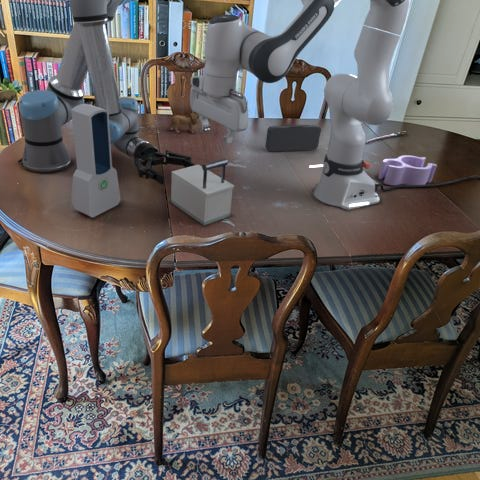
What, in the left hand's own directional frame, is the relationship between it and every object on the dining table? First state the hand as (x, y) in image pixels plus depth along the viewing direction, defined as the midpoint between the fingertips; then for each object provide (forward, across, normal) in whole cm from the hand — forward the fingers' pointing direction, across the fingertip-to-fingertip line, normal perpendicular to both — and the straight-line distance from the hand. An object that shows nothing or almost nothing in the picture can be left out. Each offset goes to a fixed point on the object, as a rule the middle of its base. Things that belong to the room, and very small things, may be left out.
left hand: (180, 175), depth 148 cm
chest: (+12, +1, -6) cm, 14 cm away
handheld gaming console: (-6, -61, -6) cm, 61 cm away
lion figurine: (-44, -35, -6) cm, 57 cm away
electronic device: (-5, +26, -6) cm, 28 cm away
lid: (+12, +1, +4) cm, 13 cm away
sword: (+8, -112, -6) cm, 112 cm away
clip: (+37, -77, -6) cm, 86 cm away
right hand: (+17, +1, +19) cm, 26 cm away
